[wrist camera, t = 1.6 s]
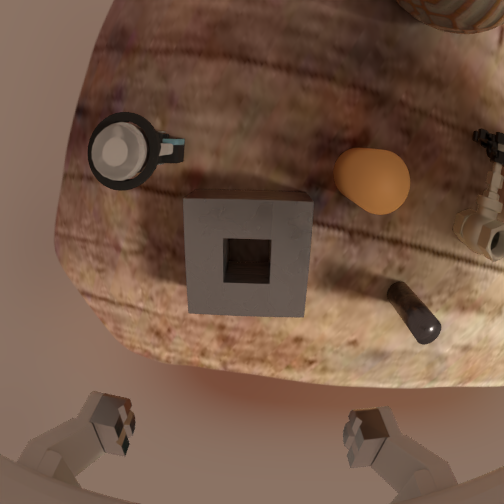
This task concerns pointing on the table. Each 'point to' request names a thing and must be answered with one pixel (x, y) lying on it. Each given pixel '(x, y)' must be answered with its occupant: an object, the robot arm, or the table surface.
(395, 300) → the cylinder
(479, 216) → the valve
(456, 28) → the vase
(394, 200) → the orange rounded tapered piece
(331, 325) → the table surface
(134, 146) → the push button
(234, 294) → the bore block
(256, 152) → the table surface
